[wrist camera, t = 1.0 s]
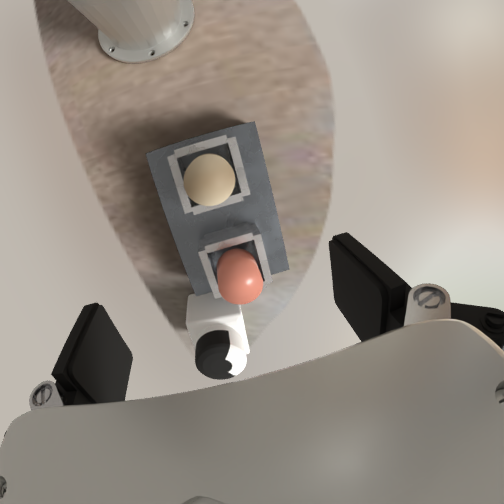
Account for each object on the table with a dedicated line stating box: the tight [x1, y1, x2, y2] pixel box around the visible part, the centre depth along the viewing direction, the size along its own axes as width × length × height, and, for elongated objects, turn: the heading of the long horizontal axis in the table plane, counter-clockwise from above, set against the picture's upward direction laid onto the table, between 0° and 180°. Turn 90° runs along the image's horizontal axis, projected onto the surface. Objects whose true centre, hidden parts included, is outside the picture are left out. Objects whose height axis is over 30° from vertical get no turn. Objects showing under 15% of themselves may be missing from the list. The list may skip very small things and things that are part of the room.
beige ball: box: [184, 153, 235, 206], centre depth 24 cm, size 4×4×4 cm
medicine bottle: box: [186, 292, 250, 379], centre depth 36 cm, size 7×7×12 cm
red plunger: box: [217, 248, 263, 304], centre depth 28 cm, size 4×4×4 cm
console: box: [146, 121, 289, 300], centre depth 32 cm, size 18×12×9 cm, turn 14°
